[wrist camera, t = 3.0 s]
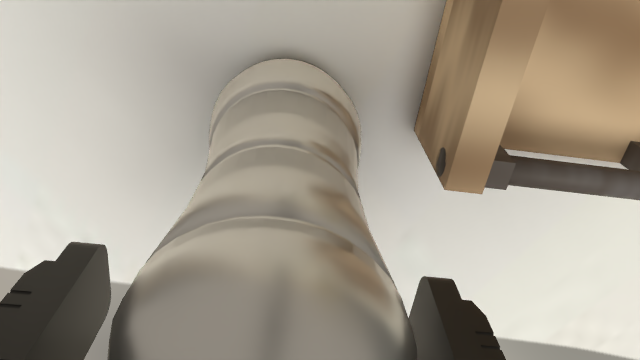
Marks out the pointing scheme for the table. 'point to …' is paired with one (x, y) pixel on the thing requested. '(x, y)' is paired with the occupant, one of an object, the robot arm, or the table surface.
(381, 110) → the table surface
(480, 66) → the caddy
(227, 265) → the metal bottle
